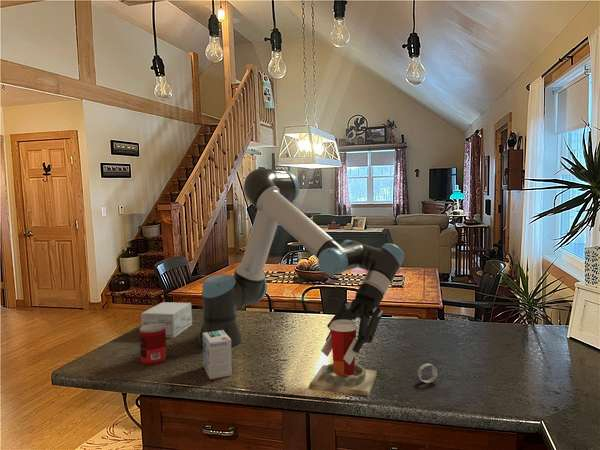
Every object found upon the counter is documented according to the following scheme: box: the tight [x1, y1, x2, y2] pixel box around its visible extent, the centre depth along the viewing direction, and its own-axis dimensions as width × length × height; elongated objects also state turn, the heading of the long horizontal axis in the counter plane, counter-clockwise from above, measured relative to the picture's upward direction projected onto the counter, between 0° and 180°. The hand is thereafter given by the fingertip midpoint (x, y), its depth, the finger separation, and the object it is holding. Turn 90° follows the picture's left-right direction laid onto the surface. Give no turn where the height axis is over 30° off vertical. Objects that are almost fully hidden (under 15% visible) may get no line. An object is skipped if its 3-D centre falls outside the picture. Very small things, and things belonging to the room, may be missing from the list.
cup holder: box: [308, 362, 378, 397], centre depth 123 cm, size 16×14×3 cm
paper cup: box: [328, 320, 358, 376], centre depth 122 cm, size 8×8×14 cm
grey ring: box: [417, 363, 438, 384], centre depth 122 cm, size 3×5×5 cm, turn 102°
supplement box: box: [140, 301, 193, 339], centre depth 173 cm, size 17×13×9 cm
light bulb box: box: [202, 330, 233, 380], centre depth 132 cm, size 11×7×11 cm, turn 23°
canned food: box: [139, 324, 167, 366], centre depth 141 cm, size 8×8×11 cm
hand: (335, 357), depth 120 cm, fingers closed on paper cup, 8 cm apart
